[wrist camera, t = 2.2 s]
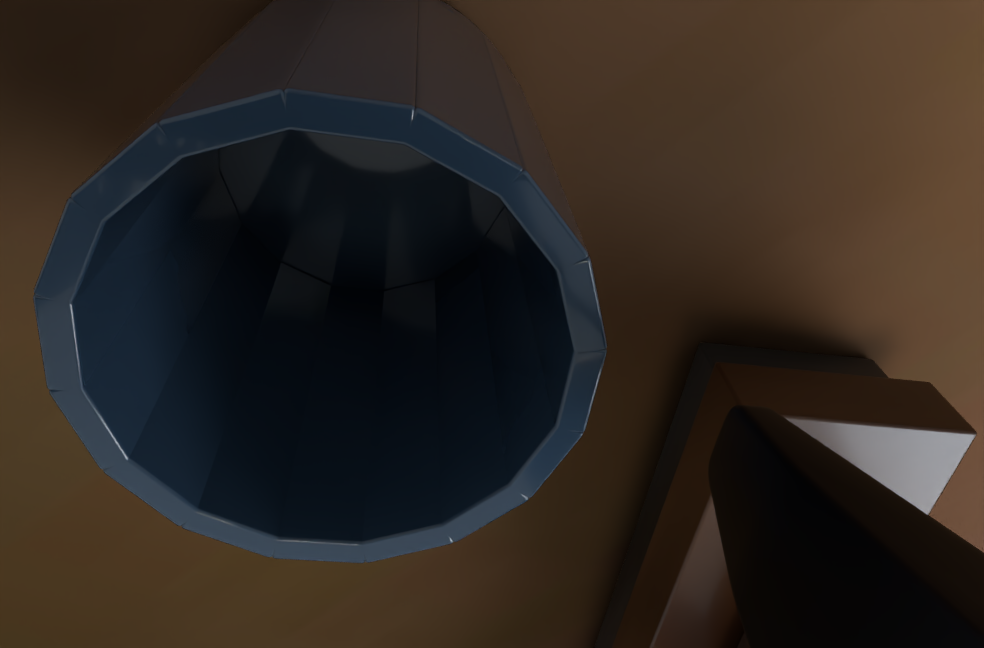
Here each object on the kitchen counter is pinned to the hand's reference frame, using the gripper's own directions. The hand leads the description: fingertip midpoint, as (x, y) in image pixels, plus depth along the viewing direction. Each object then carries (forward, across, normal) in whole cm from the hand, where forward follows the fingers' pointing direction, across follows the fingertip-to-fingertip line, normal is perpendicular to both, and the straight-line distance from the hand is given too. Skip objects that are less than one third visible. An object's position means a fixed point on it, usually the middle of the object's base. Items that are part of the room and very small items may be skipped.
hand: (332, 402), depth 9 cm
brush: (+8, -10, +10) cm, 16 cm away
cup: (+8, 0, 0) cm, 8 cm away
